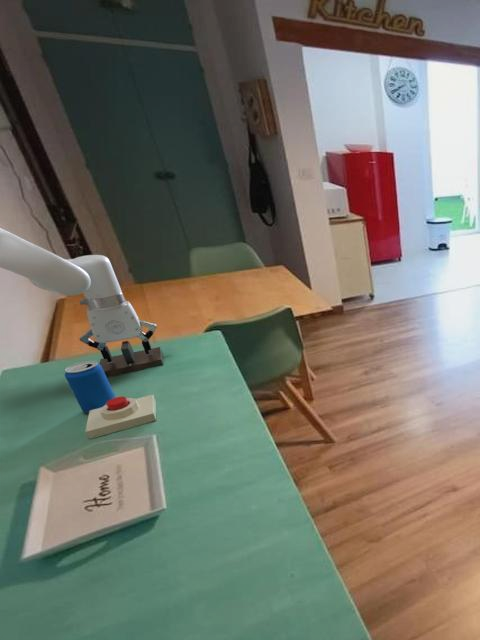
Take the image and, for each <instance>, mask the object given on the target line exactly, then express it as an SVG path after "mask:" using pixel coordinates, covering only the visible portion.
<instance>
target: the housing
mask: <svg viewBox="0 0 480 640" xmlns="http://www.w3.org/2000/svg"><path fill="white" fill-rule="evenodd" d="M126 398H127V401H128V403H129V405H128V406H127V407H125V408H122V409H119V410H116V411H110V410H109V409H108V406H107V404H106V405H105V406H103V407H101V408H97V409H93V410H90V411H89V413H88V416H87V421H86V427H85V430H84V431H85V434H86V436H87V438H88V440H93V439H97V438H99V437H103V436H107V435H110V434H113V433H117V432H120V431H124V430H129V429H132V428H135V427H138V426H142V425H146V424H149V423H153V422H156V421H157V401H156V399H155V396H154V394H150V395H149V394H148V395H145V396H142V397H138V398H133V397H126Z"/></svg>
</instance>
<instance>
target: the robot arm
mask: <svg viewBox="0 0 480 640" xmlns="http://www.w3.org/2000/svg"><path fill="white" fill-rule="evenodd" d="M0 269H4V270H7V271H9V272H12V273H14V274H16V275H19V276H22V277H24V278H26V279H28V281H29V282H30V283H31V284H32V285H34V286H35V287H37V288H39V289H41V290H45V291H48V292H52V293H56V294H60V295H63V296H73V297H74V296H78V295H81V294H83V296H84V298H82V299H78V302H79V304H80V306H82V305H83V306H87V308H86V316H87V320H88V324H89V326H90V329H88V330H87V331H86V332H84V333H83V334H82V335H81V336H80V337H79V339H78V340H79V341H80V342H81V343H83V344H85V345H88V346H89V347H91V348H94V349H97V350H98V351H99V352H100V354H101V356H102V359H103V358H104V359H107V361H108V362H111V361H112V357H113V355H112V354H111V352H110V348H109V346H107V345H106V344H107V343H114V342H119V341H126V340H129V339H130V340H131V339H134V338H137V339H139V340H141V344H142V347H143V350H145V352H146V354H149V353H150V350H152V346H151V343H150V341H149V340H150V339H151V337H152V336H153V335H154V332H155V331H156V329H157V324H156V323H154V322H149V321H145V320H142V319H140V318H139V316H138V314H137V312H136V310H135V308H134V307H133V306H132V304H131V302H130V301H128V300H126V298H125V296H124V294H123V291H122V289H121V285H120V283H119V281H118V278H117V276H116V273H115V271H114V268H113V266H112V263H111V261H110V259H109V258H108V257H107V256H105V255H102V254H87V255H82V256H77V257H75V258H70V259H69V258H68V259H65V258H63V257H61V256H59V255H58V254H55V253H53V252H52V251H49V250H48V249H45V248H43V247H41V246H39V245H37V244H34V243H32V242H30V241H29V240H26V239H24V238H22V237H20V236H19V235H16V234H15V233H12V232H10V231H8V230H6V229H4V228H1V227H0ZM143 327H145V328H147V329H148V330H147V332H146V333H145V332H143ZM92 336H93V338H94V339H95V340H93V339H91V337H92Z"/></svg>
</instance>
